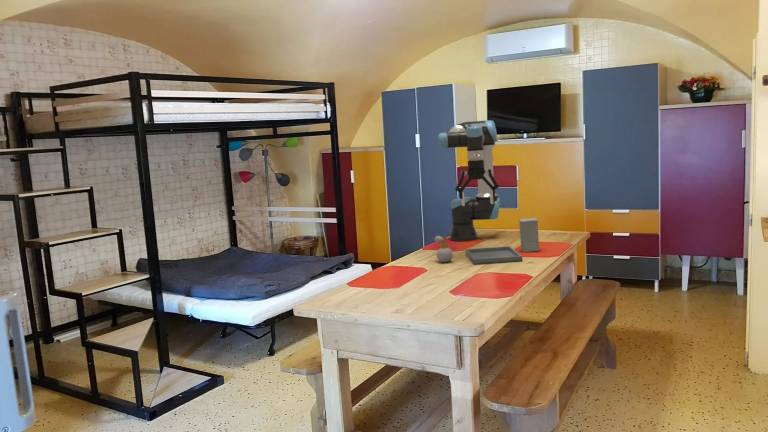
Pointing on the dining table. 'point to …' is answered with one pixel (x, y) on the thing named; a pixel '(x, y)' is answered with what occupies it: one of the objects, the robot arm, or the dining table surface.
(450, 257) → the perfume bottle
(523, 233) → the skincare box
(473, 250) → the tray
